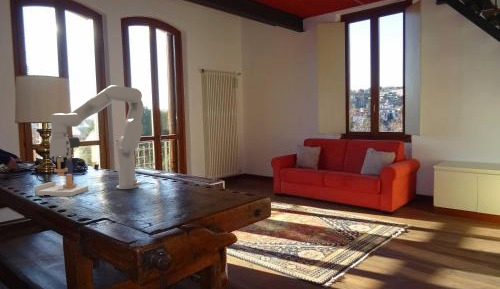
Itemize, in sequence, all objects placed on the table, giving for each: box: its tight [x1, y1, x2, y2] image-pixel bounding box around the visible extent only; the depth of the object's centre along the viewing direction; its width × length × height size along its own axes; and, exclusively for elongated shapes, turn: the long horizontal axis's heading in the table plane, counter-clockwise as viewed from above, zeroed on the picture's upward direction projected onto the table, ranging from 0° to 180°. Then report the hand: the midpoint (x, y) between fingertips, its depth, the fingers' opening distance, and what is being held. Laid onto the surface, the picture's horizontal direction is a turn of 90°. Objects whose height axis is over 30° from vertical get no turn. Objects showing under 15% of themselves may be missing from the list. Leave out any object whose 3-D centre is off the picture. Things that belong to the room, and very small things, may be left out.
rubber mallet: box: [66, 136, 81, 182], centre depth 241 cm, size 12×8×30 cm, turn 140°
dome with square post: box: [53, 157, 68, 177], centre depth 205 cm, size 7×7×10 cm
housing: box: [34, 174, 89, 197], centre depth 209 cm, size 22×16×10 cm
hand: (60, 168), depth 205 cm, fingers closed on dome with square post
